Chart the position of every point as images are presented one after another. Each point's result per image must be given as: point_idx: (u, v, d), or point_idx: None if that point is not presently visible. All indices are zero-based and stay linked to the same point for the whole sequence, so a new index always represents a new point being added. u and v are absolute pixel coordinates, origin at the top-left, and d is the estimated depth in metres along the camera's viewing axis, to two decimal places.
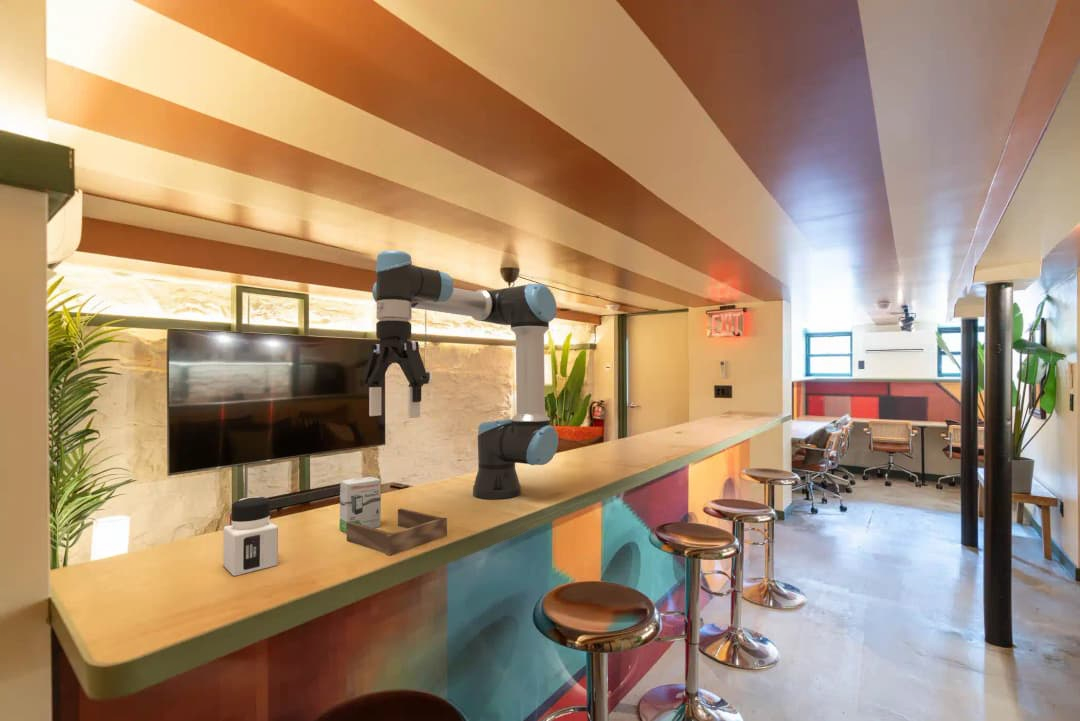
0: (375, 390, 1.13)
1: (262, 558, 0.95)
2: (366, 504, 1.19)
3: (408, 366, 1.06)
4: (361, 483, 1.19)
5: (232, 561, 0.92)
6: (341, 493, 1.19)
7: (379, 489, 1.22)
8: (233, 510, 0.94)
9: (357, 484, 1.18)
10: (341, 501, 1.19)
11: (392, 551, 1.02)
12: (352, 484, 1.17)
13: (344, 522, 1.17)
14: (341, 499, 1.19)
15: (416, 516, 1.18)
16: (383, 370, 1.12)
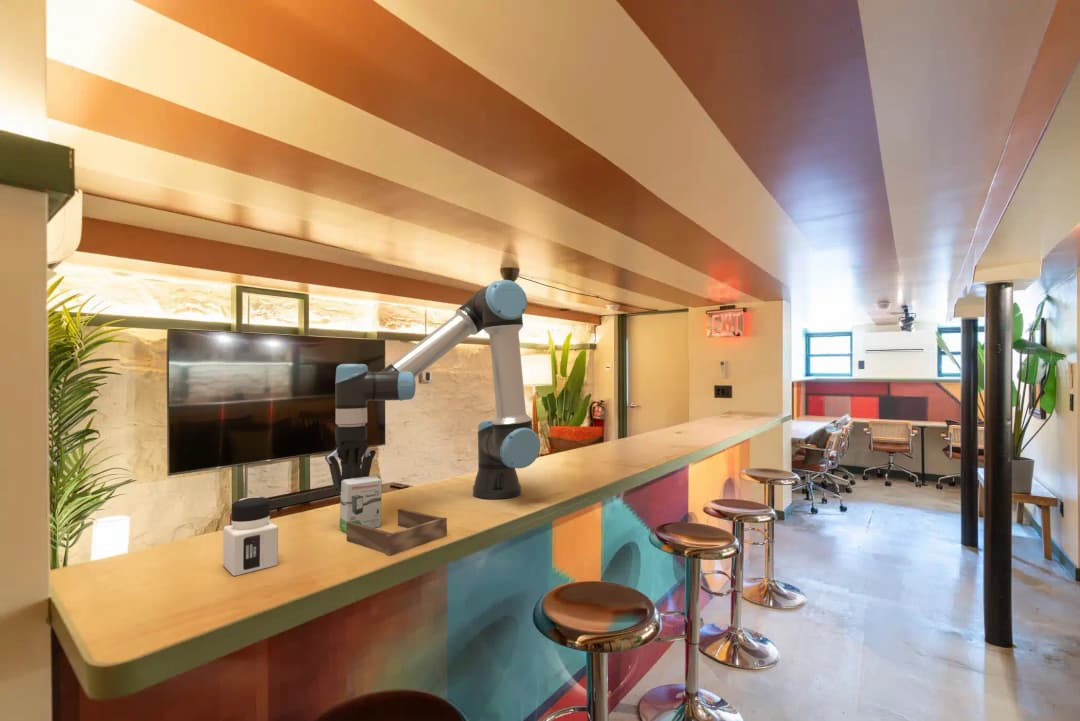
0: None
1: (262, 558, 0.95)
2: (366, 504, 1.19)
3: (343, 473, 1.22)
4: (362, 483, 1.18)
5: (232, 561, 0.92)
6: (341, 492, 1.19)
7: (380, 489, 1.21)
8: (233, 510, 0.94)
9: (358, 484, 1.18)
10: (341, 500, 1.19)
11: (392, 551, 1.02)
12: (353, 484, 1.17)
13: (345, 522, 1.17)
14: (341, 498, 1.19)
15: (416, 516, 1.18)
16: (354, 471, 1.24)
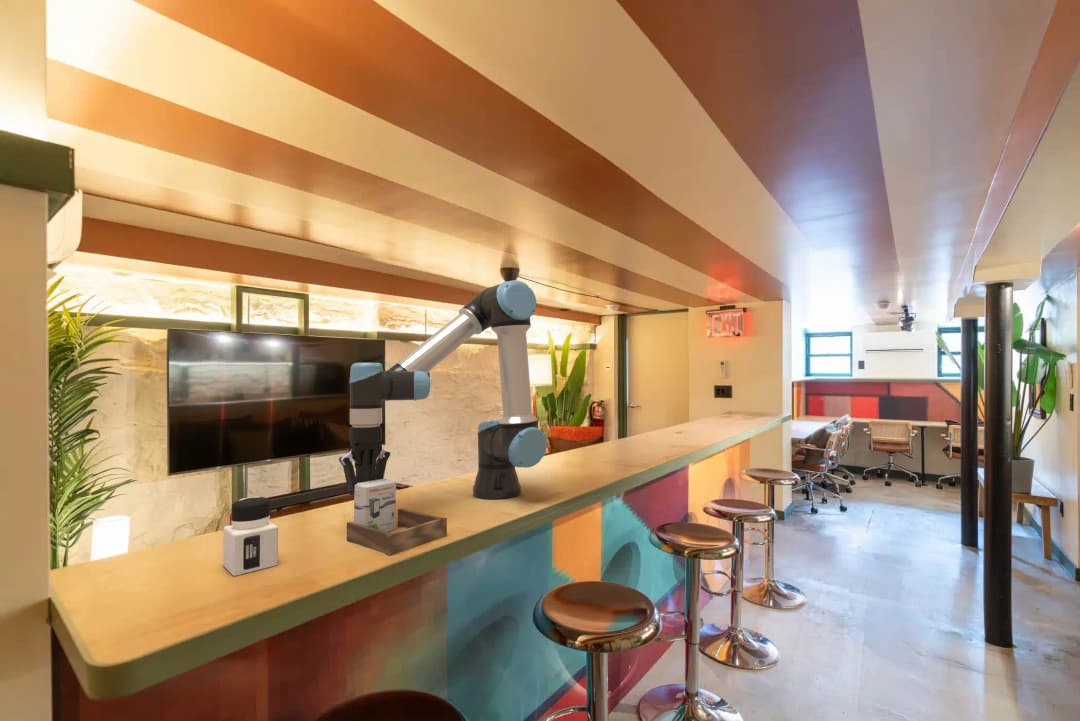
0: None
1: (262, 558, 0.95)
2: (382, 507, 1.16)
3: (357, 476, 1.18)
4: (378, 486, 1.15)
5: (232, 561, 0.92)
6: (356, 496, 1.15)
7: (394, 491, 1.19)
8: (233, 510, 0.94)
9: (375, 487, 1.15)
10: (356, 505, 1.14)
11: (392, 551, 1.02)
12: (370, 487, 1.14)
13: None
14: (356, 503, 1.15)
15: (416, 516, 1.18)
16: (368, 474, 1.20)
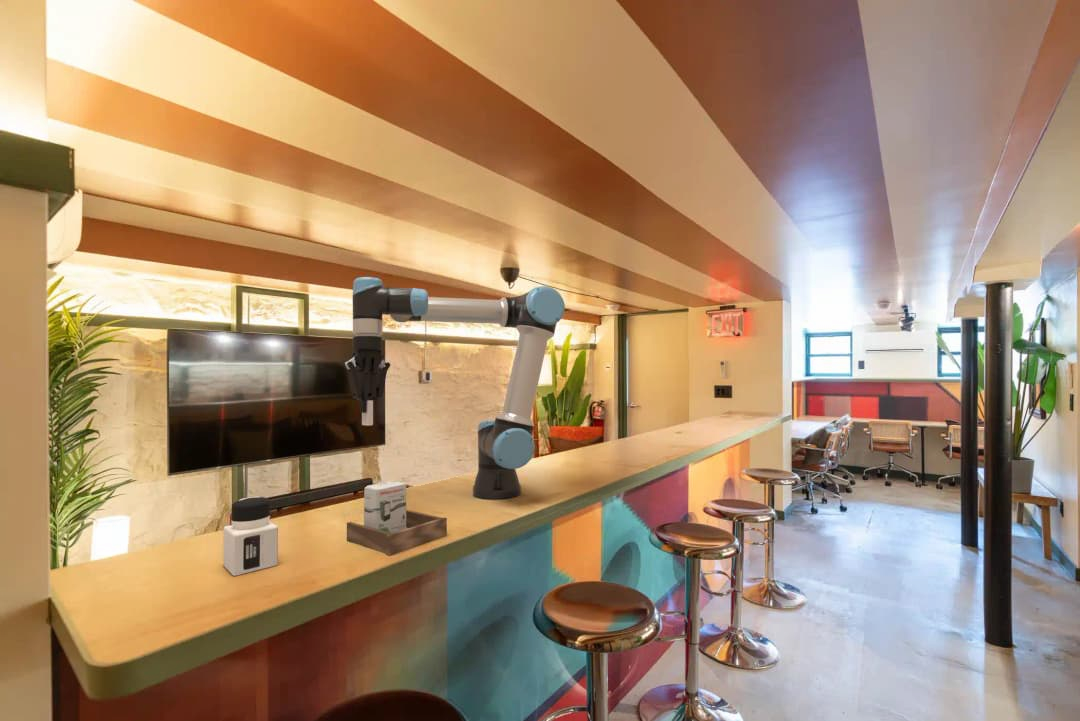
0: None
1: (262, 558, 0.95)
2: (393, 509, 1.14)
3: (360, 381, 1.29)
4: (389, 488, 1.13)
5: (232, 561, 0.92)
6: (366, 499, 1.12)
7: (405, 493, 1.16)
8: (233, 510, 0.94)
9: (385, 489, 1.12)
10: (366, 508, 1.12)
11: (392, 551, 1.02)
12: (380, 489, 1.11)
13: None
14: (366, 506, 1.12)
15: (416, 516, 1.18)
16: (370, 380, 1.31)
